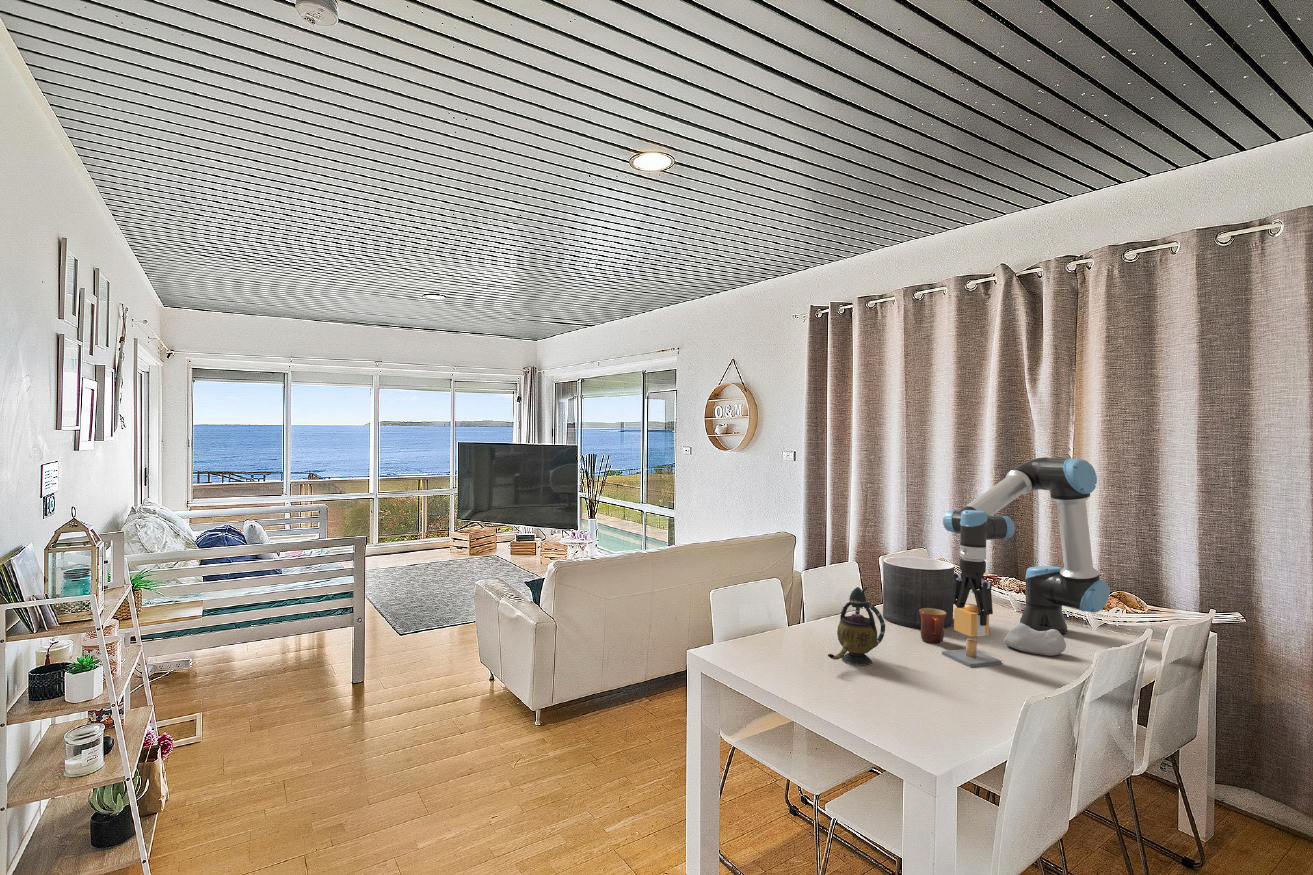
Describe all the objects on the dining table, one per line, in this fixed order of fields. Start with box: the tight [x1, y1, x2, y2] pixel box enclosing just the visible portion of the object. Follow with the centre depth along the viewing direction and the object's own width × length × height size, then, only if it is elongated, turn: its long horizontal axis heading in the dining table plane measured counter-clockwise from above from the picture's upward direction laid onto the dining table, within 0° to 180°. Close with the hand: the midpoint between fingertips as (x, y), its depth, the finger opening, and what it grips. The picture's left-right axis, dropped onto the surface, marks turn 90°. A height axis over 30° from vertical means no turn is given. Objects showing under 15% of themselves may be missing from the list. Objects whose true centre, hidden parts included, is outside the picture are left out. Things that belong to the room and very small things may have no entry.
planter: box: [882, 556, 955, 629], centre depth 249 cm, size 25×25×22 cm
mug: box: [919, 608, 946, 645], centre depth 221 cm, size 12×9×10 cm
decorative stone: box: [1003, 622, 1067, 657], centre depth 214 cm, size 17×10×10 cm
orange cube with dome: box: [953, 603, 990, 638], centre depth 204 cm, size 7×7×9 cm
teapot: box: [827, 586, 886, 667], centre depth 198 cm, size 12×25×23 cm, turn 135°
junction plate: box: [941, 638, 1003, 668], centre depth 204 cm, size 12×12×6 cm
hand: (971, 631), depth 204 cm, fingers closed on orange cube with dome, 7 cm apart
